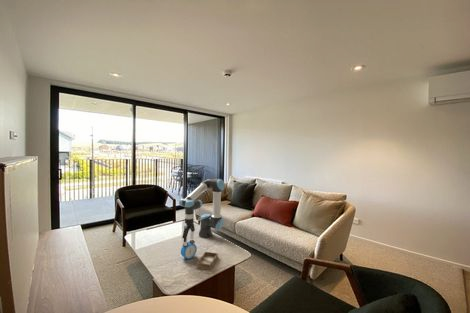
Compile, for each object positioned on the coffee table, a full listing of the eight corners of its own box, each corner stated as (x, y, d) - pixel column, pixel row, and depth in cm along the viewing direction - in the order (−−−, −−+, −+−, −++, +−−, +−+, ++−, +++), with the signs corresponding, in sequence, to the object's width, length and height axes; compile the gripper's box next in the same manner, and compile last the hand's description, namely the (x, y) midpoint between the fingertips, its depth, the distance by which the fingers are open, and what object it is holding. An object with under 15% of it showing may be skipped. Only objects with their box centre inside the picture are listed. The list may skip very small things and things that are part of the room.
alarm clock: (183, 261, 168) (184, 244, 168) (180, 258, 173) (180, 242, 172) (196, 256, 177) (197, 240, 177) (193, 253, 182) (193, 237, 181)
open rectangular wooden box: (205, 255, 179) (205, 251, 179) (217, 257, 176) (217, 253, 176) (196, 267, 160) (196, 263, 160) (210, 270, 158) (210, 265, 158)
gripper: (191, 213, 187) (190, 235, 187) (178, 222, 163) (177, 247, 163) (198, 214, 185) (198, 236, 186) (186, 223, 161) (186, 249, 161)
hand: (188, 241), depth 174 cm, fingers open, 13 cm apart
